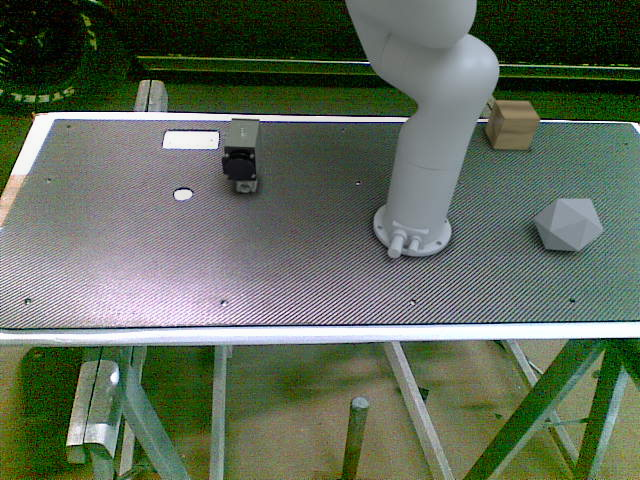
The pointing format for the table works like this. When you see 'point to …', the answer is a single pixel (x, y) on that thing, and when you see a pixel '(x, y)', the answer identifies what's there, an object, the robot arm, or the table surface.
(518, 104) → the maple block
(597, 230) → the die
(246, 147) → the pneumatic valve
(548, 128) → the table surface
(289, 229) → the table surface
